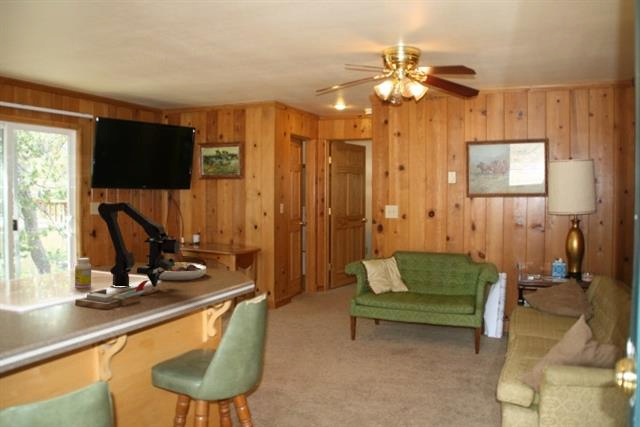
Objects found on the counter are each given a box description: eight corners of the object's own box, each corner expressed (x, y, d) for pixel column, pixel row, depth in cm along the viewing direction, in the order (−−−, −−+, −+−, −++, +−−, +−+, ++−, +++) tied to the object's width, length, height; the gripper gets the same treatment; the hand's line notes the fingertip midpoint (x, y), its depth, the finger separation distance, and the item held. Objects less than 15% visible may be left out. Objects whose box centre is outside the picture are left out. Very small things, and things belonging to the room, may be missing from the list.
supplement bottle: (72, 286, 232) (73, 257, 232) (88, 285, 237) (88, 257, 236) (77, 289, 227) (77, 259, 226) (92, 287, 232) (93, 259, 231)
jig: (72, 304, 200) (72, 296, 200) (103, 296, 216) (103, 288, 216) (110, 309, 194) (110, 301, 194) (139, 301, 211) (139, 293, 210)
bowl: (133, 275, 266) (134, 260, 266) (180, 269, 291) (180, 255, 290) (171, 284, 249) (172, 268, 249) (217, 277, 273) (218, 262, 273)
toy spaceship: (130, 309, 205) (130, 296, 204) (103, 306, 206) (103, 294, 206) (160, 290, 232) (160, 279, 231) (136, 289, 233) (136, 277, 233)
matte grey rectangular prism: (104, 307, 198) (105, 297, 198) (86, 304, 201) (87, 294, 201) (112, 305, 202) (112, 295, 202) (94, 302, 205) (94, 292, 205)
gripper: (158, 256, 222) (157, 292, 223) (182, 251, 240) (181, 285, 241) (136, 254, 225) (135, 289, 226) (161, 249, 243) (161, 282, 244)
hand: (154, 286), depth 234 cm, fingers closed
